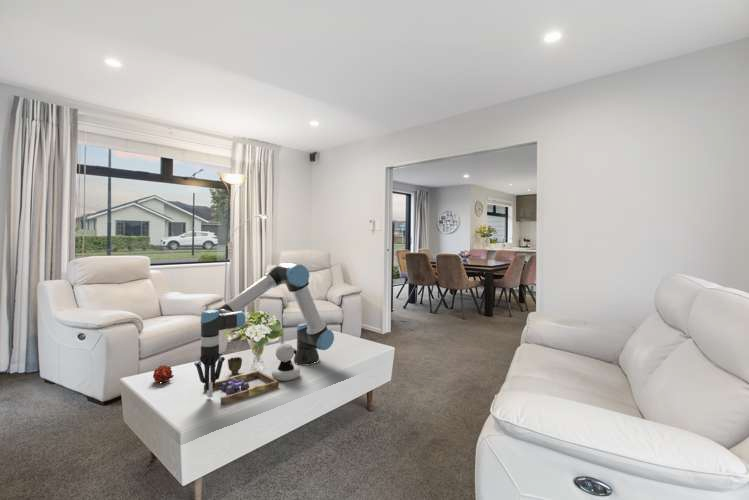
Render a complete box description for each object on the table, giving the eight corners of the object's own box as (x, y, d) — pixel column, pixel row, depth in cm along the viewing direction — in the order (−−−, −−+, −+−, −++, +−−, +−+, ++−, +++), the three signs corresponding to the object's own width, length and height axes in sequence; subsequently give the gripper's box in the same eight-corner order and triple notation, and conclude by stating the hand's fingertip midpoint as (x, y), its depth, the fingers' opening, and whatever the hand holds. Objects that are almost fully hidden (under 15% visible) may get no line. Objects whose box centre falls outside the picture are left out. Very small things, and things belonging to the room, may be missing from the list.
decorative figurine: (305, 377, 186) (305, 340, 186) (280, 384, 176) (280, 345, 176) (291, 370, 197) (291, 334, 197) (266, 376, 187) (267, 339, 187)
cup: (225, 373, 191) (225, 358, 191) (238, 370, 196) (238, 355, 196) (230, 376, 186) (231, 361, 186) (244, 373, 191) (244, 358, 191)
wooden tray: (258, 376, 187) (258, 369, 187) (278, 387, 173) (278, 380, 173) (203, 391, 167) (203, 384, 167) (221, 405, 153) (221, 397, 153)
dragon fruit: (163, 380, 184) (165, 391, 175) (147, 373, 180) (149, 384, 170) (174, 366, 186) (177, 376, 177) (159, 359, 182) (161, 369, 172)
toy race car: (237, 384, 177) (237, 371, 177) (249, 393, 166) (249, 380, 166) (217, 389, 171) (217, 376, 171) (229, 399, 160) (229, 385, 160)
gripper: (221, 340, 166) (220, 389, 166) (191, 345, 157) (191, 398, 157) (227, 343, 161) (227, 394, 161) (197, 349, 152) (197, 403, 152)
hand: (209, 396), depth 159 cm, fingers closed
